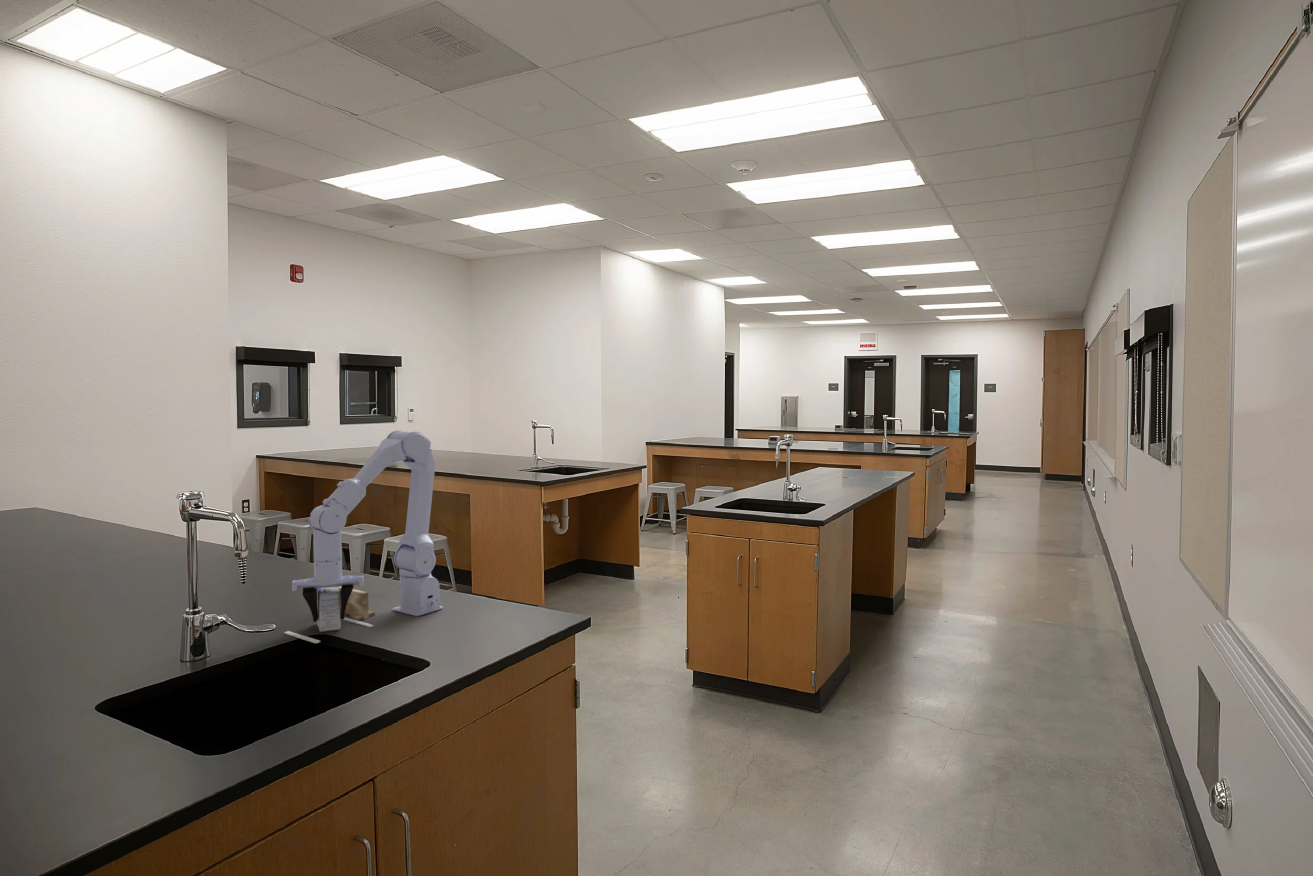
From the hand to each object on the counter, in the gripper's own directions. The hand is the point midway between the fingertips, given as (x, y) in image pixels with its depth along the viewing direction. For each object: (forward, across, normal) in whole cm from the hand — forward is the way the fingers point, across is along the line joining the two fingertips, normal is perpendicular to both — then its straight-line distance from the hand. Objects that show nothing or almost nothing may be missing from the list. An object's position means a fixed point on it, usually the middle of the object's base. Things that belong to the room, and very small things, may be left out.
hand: (329, 619), depth 162 cm
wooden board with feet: (+2, -3, -12) cm, 13 cm away
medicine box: (+2, +1, -2) cm, 3 cm away
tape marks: (+2, 0, 0) cm, 2 cm away
